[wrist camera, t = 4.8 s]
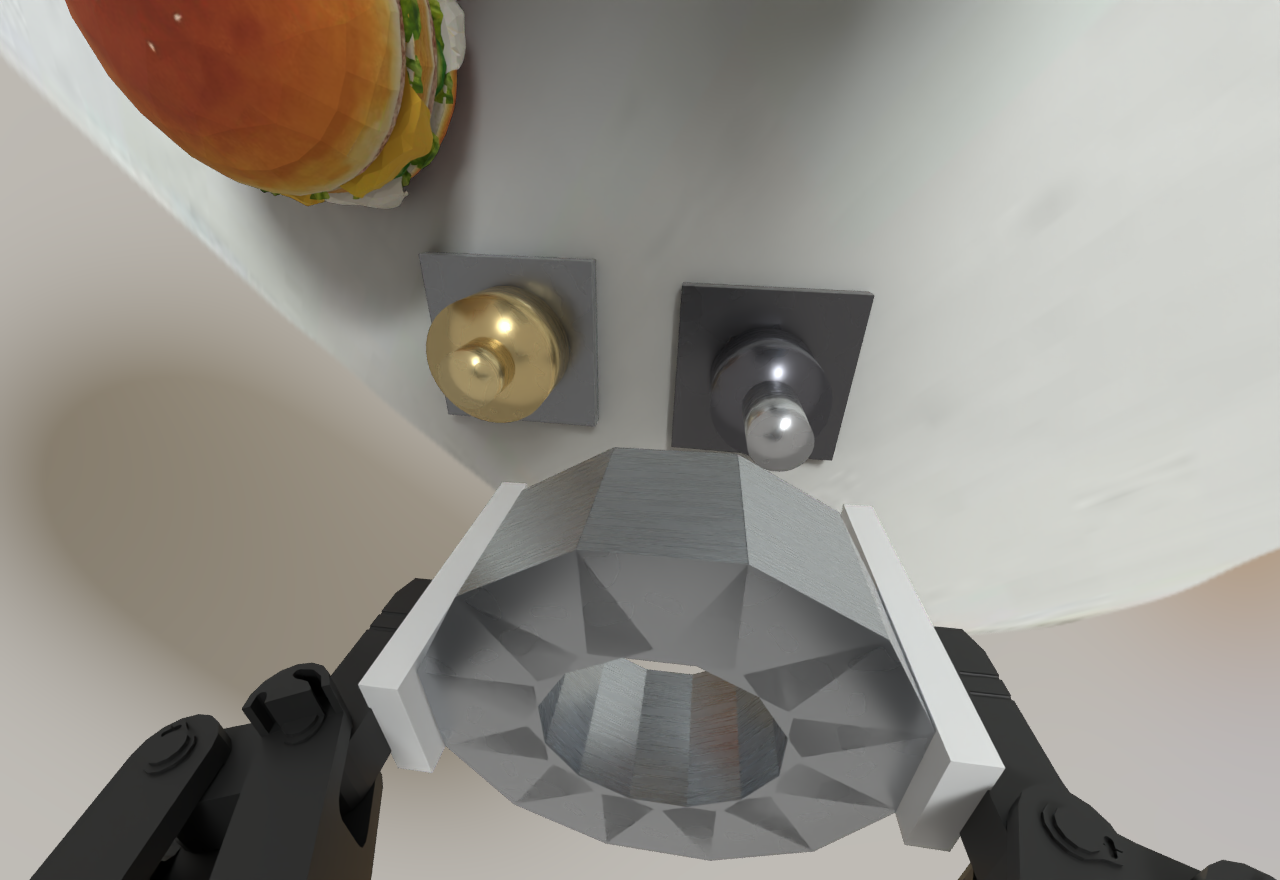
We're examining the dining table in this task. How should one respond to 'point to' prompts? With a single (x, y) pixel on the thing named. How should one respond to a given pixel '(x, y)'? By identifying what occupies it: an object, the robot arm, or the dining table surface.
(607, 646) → the grey faceted ring
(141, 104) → the burger
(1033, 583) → the dining table surface
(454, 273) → the hub
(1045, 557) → the dining table surface
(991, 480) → the dining table surface
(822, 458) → the stand
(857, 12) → the dining table surface
